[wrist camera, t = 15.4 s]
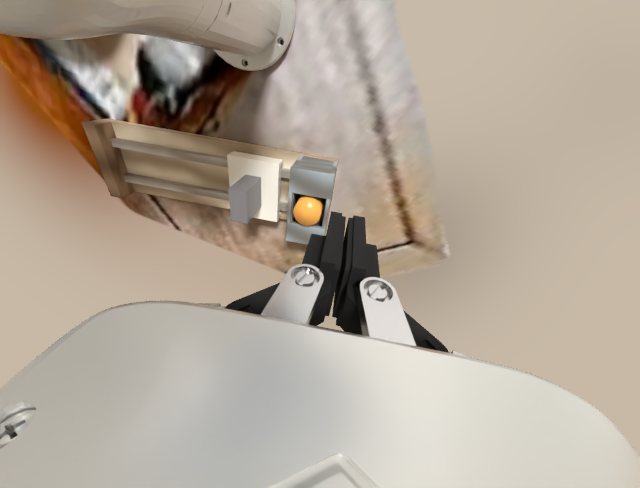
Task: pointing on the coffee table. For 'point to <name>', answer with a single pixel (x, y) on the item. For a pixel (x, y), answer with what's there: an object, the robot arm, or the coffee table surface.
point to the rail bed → (202, 169)
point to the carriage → (254, 187)
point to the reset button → (308, 209)
